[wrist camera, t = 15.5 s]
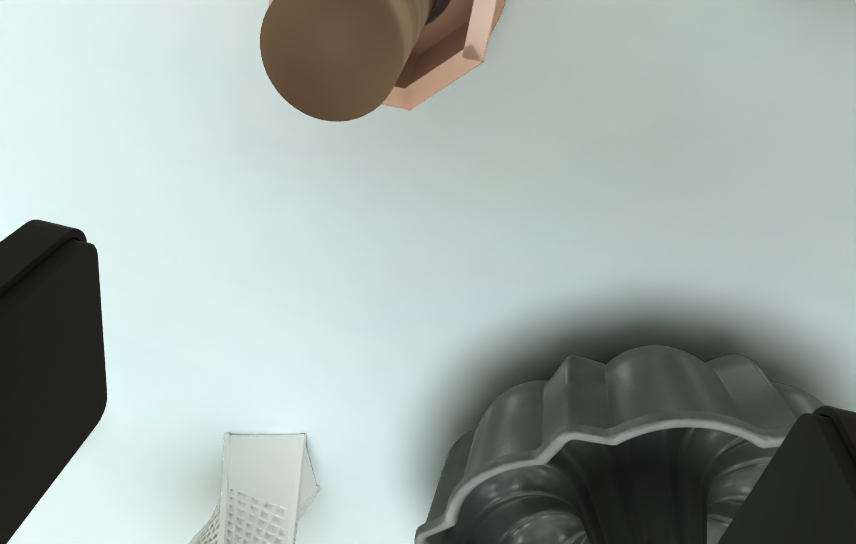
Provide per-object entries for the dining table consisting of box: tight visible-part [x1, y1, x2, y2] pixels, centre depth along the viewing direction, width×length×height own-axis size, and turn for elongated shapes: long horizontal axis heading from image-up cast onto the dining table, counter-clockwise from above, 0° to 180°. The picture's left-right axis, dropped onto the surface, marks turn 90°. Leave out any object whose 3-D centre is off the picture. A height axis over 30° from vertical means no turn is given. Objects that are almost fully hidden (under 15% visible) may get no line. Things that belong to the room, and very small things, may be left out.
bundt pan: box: [415, 345, 824, 544], centre depth 40 cm, size 26×26×10 cm
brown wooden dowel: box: [260, 0, 437, 121], centre depth 24 cm, size 4×4×14 cm
